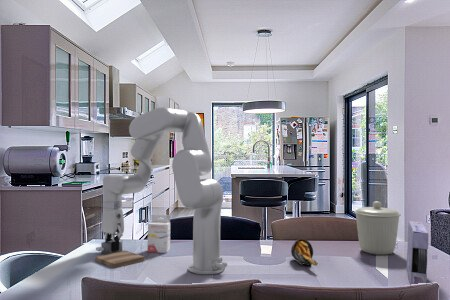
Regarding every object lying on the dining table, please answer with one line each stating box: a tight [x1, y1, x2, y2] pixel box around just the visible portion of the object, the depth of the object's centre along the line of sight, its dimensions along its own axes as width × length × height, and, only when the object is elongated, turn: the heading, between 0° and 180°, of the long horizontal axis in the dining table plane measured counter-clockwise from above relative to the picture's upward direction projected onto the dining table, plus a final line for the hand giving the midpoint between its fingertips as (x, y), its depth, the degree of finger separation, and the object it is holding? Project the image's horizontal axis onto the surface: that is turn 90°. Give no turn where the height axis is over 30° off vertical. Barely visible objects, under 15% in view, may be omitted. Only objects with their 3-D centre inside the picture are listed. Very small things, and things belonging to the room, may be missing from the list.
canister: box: [354, 200, 402, 256], centre depth 161 cm, size 18×18×21 cm
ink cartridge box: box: [147, 214, 171, 254], centre depth 160 cm, size 9×5×15 cm, turn 84°
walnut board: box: [94, 250, 146, 269], centre depth 146 cm, size 13×13×2 cm
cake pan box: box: [406, 220, 429, 285], centre depth 126 cm, size 19×5×18 cm, turn 158°
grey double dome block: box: [95, 239, 123, 255], centre depth 158 cm, size 4×11×4 cm, turn 137°
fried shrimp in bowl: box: [290, 238, 319, 267], centre depth 143 cm, size 9×11×18 cm
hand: (112, 249), depth 159 cm, fingers closed on grey double dome block, 4 cm apart
